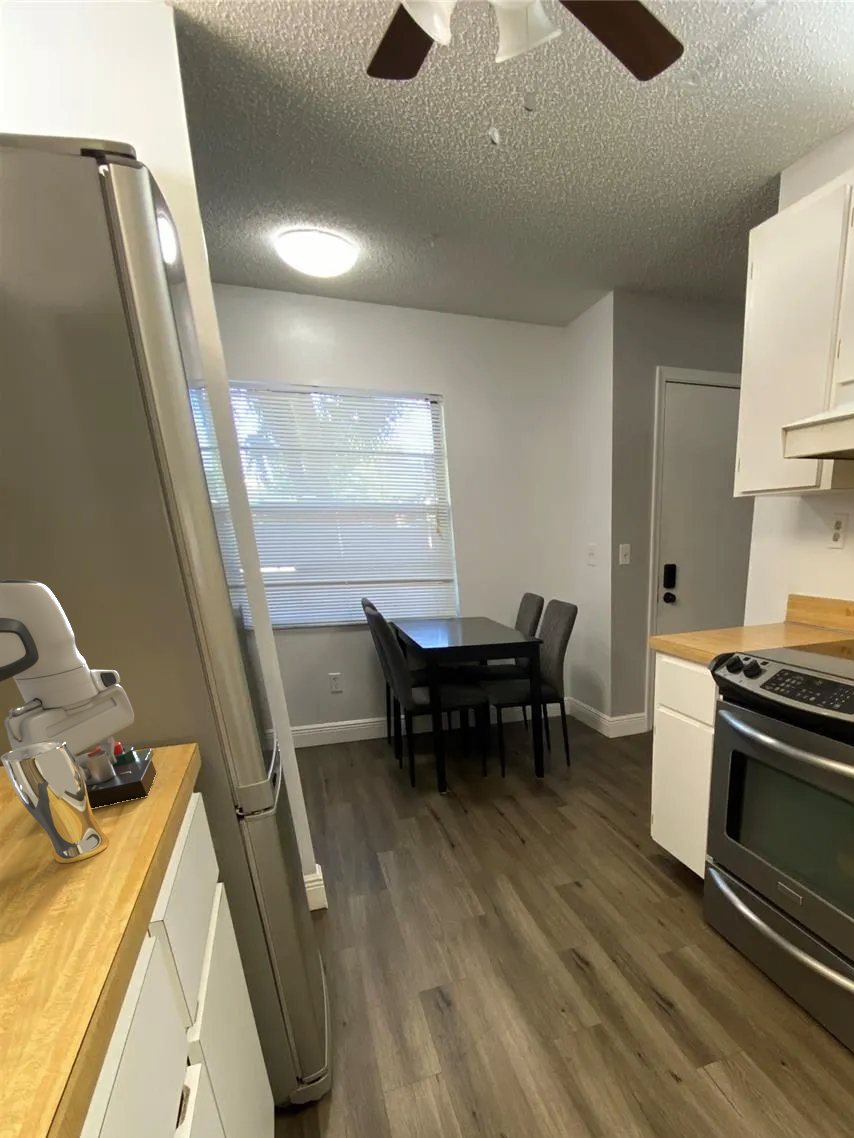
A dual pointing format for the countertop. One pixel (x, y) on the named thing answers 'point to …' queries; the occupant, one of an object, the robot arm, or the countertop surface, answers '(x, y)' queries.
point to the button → (115, 748)
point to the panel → (123, 784)
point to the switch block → (132, 755)
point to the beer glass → (56, 798)
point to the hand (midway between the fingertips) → (97, 772)
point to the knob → (96, 766)
